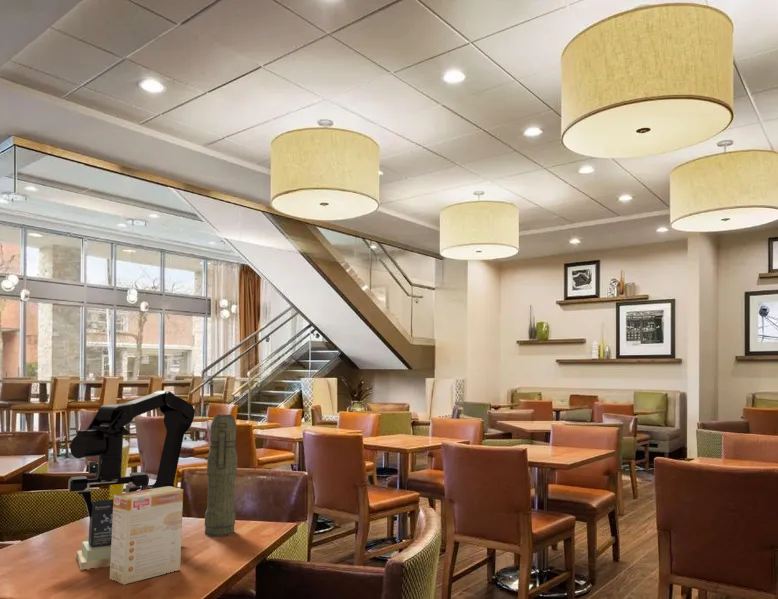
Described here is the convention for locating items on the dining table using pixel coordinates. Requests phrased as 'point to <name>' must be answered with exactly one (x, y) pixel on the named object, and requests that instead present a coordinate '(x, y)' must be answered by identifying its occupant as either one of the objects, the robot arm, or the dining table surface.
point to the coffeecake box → (146, 534)
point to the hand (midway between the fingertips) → (107, 515)
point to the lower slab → (91, 562)
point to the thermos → (221, 477)
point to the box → (101, 523)
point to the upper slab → (95, 551)
